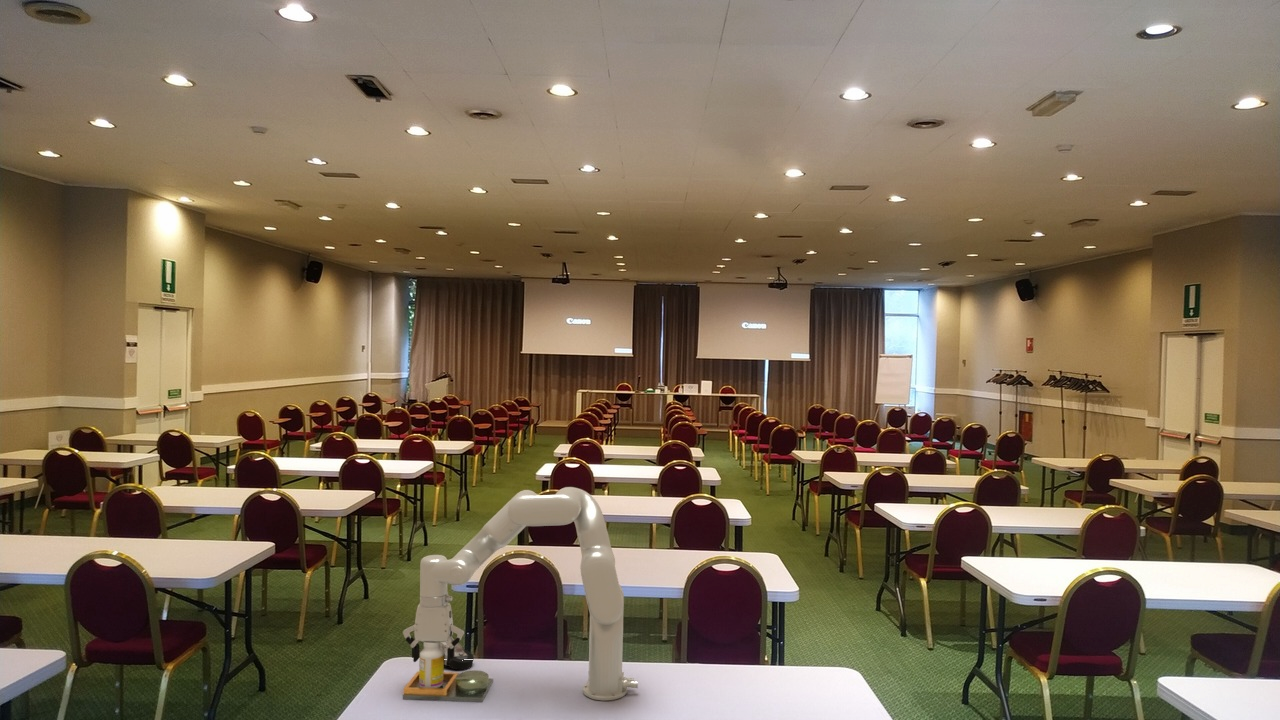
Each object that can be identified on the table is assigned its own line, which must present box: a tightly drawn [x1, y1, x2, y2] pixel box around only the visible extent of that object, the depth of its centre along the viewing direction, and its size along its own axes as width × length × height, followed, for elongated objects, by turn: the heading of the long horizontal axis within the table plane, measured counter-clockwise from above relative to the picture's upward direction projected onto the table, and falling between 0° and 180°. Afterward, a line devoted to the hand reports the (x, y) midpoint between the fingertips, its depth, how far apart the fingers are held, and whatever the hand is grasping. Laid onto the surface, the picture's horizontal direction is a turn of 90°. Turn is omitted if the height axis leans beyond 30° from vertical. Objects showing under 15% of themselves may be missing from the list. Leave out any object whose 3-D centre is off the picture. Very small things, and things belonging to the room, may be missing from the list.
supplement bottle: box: [418, 642, 445, 688], centre depth 218 cm, size 7×7×13 cm
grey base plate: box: [402, 669, 494, 703], centre depth 218 cm, size 22×13×4 cm, turn 88°
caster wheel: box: [440, 642, 475, 671], centre depth 236 cm, size 7×11×10 cm
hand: (433, 660), depth 218 cm, fingers open, 9 cm apart
